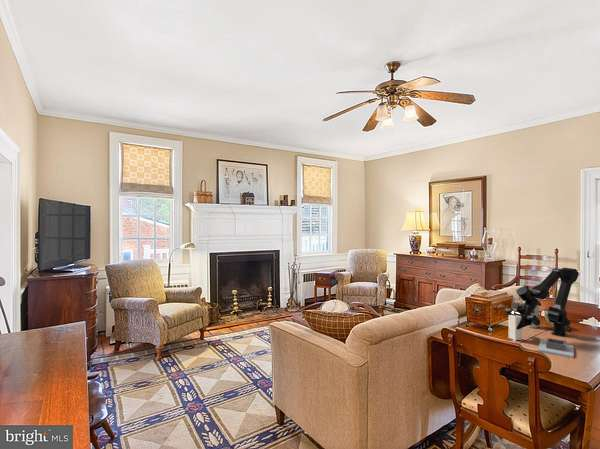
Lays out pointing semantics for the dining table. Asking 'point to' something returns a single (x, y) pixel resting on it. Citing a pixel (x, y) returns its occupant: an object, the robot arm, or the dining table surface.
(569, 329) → the handheld radio
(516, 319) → the charger
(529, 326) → the coffee cup
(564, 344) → the outlet
